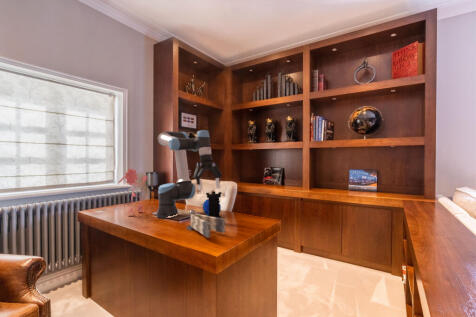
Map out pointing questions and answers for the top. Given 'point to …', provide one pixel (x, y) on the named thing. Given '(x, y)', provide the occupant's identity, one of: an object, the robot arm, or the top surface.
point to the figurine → (131, 178)
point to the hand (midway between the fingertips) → (209, 189)
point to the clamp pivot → (190, 225)
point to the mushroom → (206, 207)
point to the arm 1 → (200, 225)
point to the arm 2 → (214, 222)
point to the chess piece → (214, 204)
